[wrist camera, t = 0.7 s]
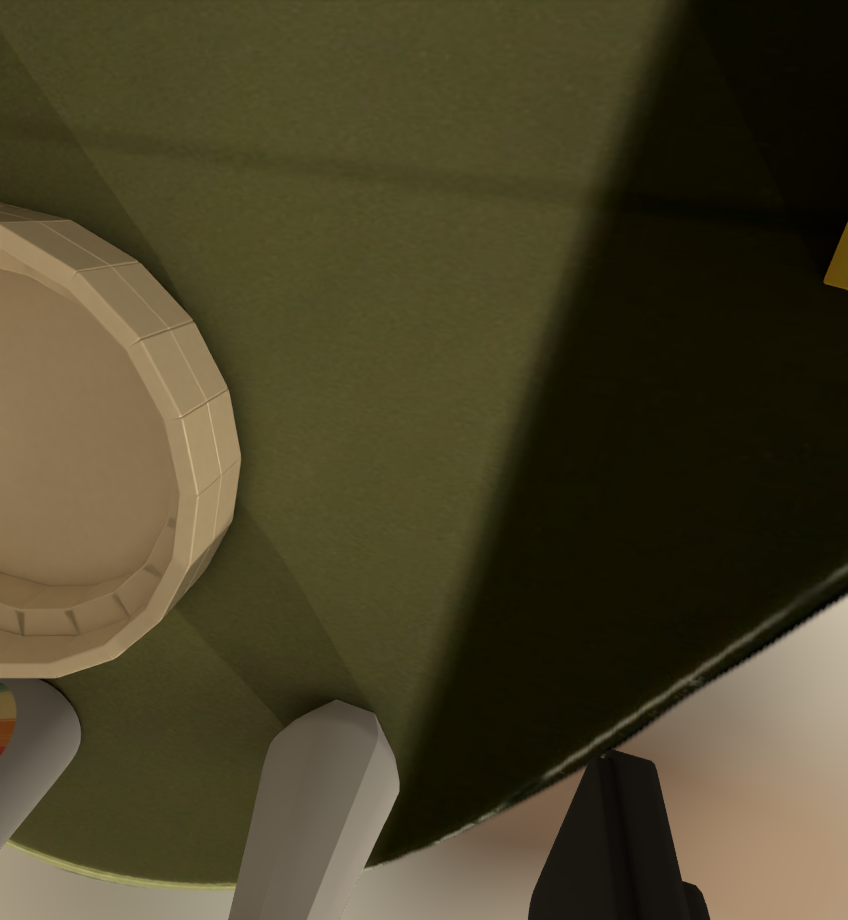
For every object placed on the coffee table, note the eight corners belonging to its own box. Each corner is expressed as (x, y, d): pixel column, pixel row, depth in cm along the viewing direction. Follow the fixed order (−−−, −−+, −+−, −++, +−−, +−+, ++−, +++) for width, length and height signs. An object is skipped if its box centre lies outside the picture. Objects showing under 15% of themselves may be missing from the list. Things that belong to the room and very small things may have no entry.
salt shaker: (414, 790, 33) (350, 1130, 21) (295, 790, 34) (166, 1115, 22) (396, 682, 31) (315, 985, 19) (271, 685, 32) (117, 976, 20)
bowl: (-176, 156, 27) (-306, 147, 23) (273, 267, 26) (224, 279, 22) (-147, 560, 33) (-246, 612, 29) (216, 660, 32) (170, 728, 28)
